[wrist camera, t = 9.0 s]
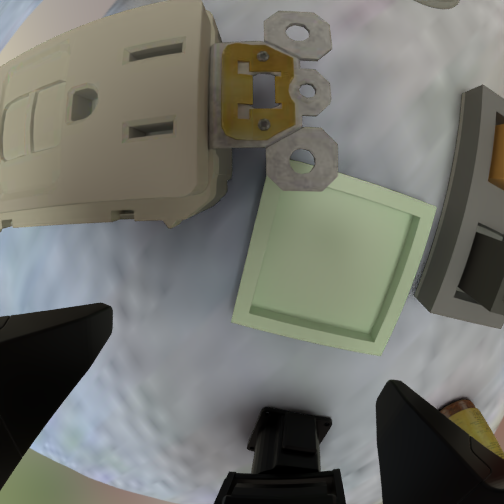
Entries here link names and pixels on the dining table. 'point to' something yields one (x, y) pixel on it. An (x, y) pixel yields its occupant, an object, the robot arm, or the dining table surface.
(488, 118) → the power strip
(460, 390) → the dining table surface
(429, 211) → the tray
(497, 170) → the plug
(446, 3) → the grey pitcher
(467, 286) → the twin plug
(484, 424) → the sauce bottle
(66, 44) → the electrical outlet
